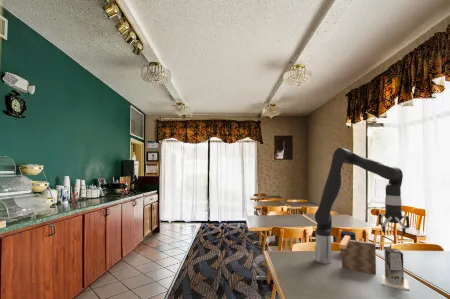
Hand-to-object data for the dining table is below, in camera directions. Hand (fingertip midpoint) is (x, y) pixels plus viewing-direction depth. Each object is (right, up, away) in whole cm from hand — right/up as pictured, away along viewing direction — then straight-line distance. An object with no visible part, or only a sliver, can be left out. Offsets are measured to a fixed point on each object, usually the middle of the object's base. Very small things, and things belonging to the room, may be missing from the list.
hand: (393, 234), depth 146 cm
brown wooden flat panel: (-11, -27, +15) cm, 33 cm away
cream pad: (0, -26, -2) cm, 26 cm away
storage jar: (-3, -29, +47) cm, 55 cm away
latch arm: (-21, -9, +11) cm, 26 cm away
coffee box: (-1, -25, -1) cm, 25 cm away
